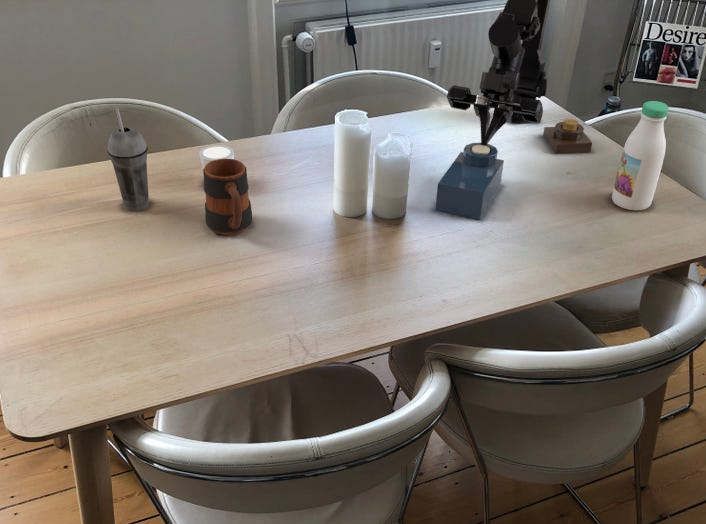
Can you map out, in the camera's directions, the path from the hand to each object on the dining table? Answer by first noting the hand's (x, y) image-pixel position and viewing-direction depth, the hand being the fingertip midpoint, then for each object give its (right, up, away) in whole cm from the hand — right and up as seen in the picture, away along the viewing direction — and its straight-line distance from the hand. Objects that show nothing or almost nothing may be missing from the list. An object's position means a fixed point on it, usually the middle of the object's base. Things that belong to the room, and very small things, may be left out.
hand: (483, 145), depth 165 cm
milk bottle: (+29, -11, 0) cm, 32 cm away
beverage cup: (-68, -13, -4) cm, 69 cm away
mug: (-48, -19, -11) cm, 53 cm away
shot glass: (-53, -7, +3) cm, 54 cm away
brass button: (+22, +8, +18) cm, 29 cm away
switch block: (+22, +6, +20) cm, 30 cm away
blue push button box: (-3, -10, 0) cm, 11 cm away
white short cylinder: (-1, -3, 0) cm, 3 cm away
